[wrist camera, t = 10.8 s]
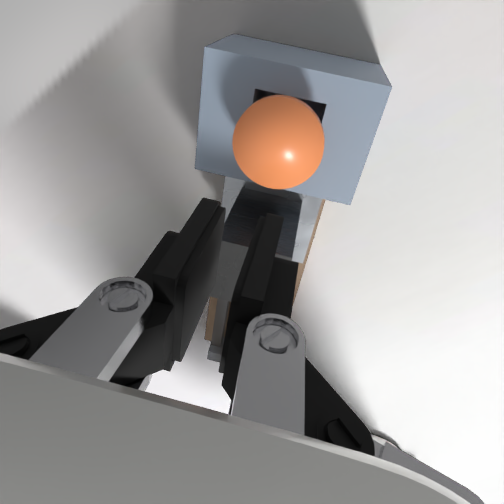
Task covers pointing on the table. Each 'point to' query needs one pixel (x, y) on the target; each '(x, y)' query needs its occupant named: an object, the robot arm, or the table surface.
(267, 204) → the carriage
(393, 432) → the table surface
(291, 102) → the button
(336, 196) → the button housing
